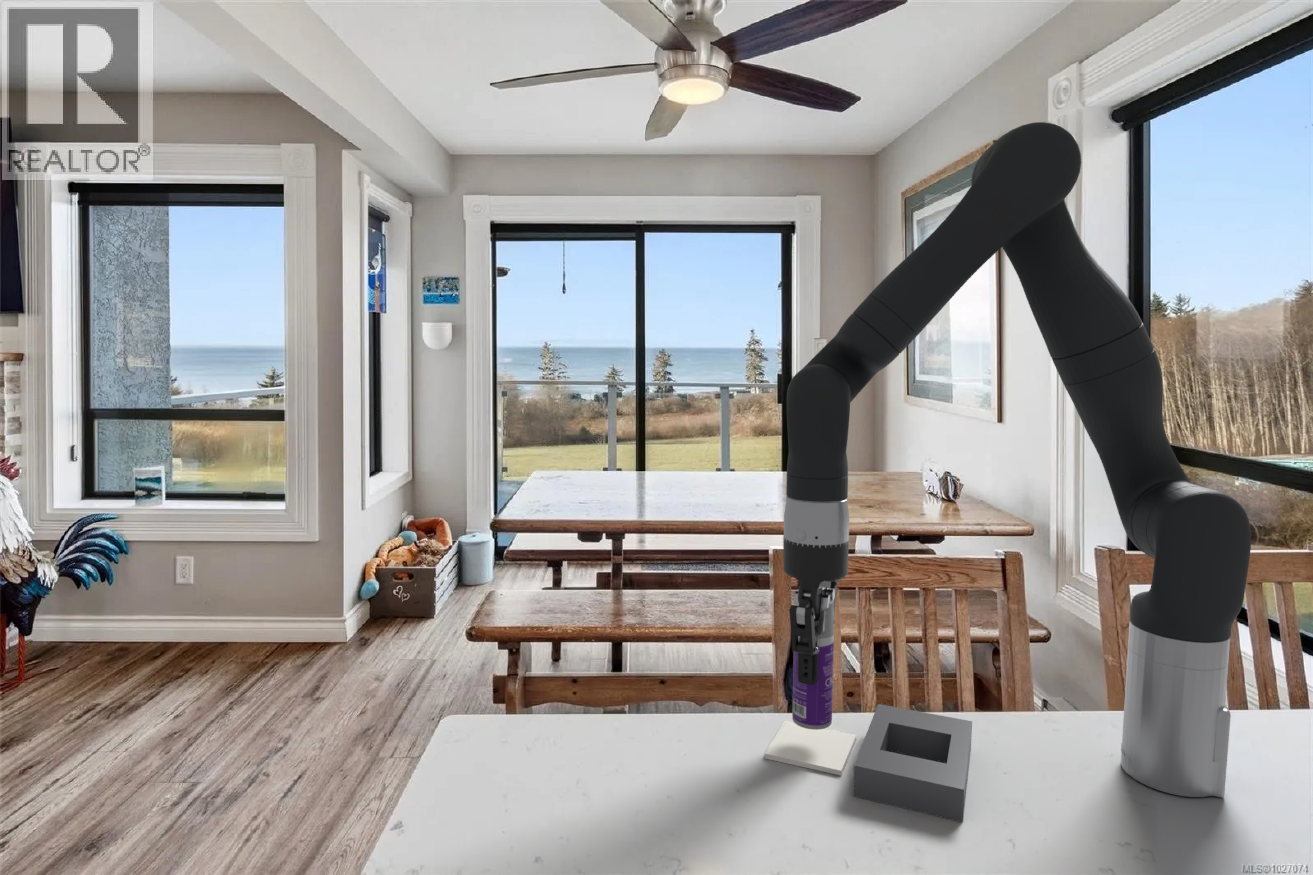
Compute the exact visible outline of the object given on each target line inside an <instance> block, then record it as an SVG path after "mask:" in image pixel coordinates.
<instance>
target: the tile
mask: <svg viewBox="0 0 1313 875" xmlns="http://www.w3.org/2000/svg"><path fill="white" fill-rule="evenodd" d="M856 741H857V734H853V733H849V732H845V731H839V730H833V729H829V728H825V729H819V730H813V729H806V728H803V727H800V726H798V725H797V724H795V723H794V722H793V721H790V720H784V722H783V724H782V725H781V727H780V728H779V730H778V732H777V733H776V735H775V737H774V738H773V740H772V741H771V743H770V745H769V746H768V747H767V749H766V750H765V752H764V759H767V760H771V761H776V762H780V763H784V764H788V765H792V766H797V767H801V768H807V769H811V770H814V771H819V772H824V773H828V774H831V775H832V774H833V775H836V776H842V775H843V773H844V771H845V767H846V765H847V763H848V760H849V758H850V756H851V754H852V751H853V748H854V746H855V743H856Z"/></svg>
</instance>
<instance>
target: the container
mask: <svg viewBox="0 0 1313 875" xmlns="http://www.w3.org/2000/svg"><path fill="white" fill-rule="evenodd" d="M820 609H821V605H820ZM819 620H820V619H819ZM819 620H818V621H816V622H814V626H815V627H816V626H818V625H819ZM834 621H835V614H834V601H833V600H831V599H830V604H829V608H828V609H827V610H826V626H825V632H824V633H823V634H821V635H820V644H819V648H820V651H819V653H818V681H817V683H816V684H815V685H809V684H803V683H800V682H799V681H798V652H793V651H792V653H793V656H792V659H793V662H792V714H791V715H792V722H794V723H795V724H797V725H798V726H800V727H803V728H806V729H813V730H819V729H828V728H829V727H831V725H832V724H833V723H832V721H833V686H834V685H833V684H834V682H833V681H834V654H835V653H834V650H835V649H834V646H835V645H834V643H835V639H834V638H835V635H834V634H835V632H834V631H835V630H834V629H835V626H834V625H835V623H834ZM803 642H807V643H809V641H808V638H806V637H803Z"/></svg>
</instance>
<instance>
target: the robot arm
mask: <svg viewBox="0 0 1313 875" xmlns="http://www.w3.org/2000/svg"><path fill="white" fill-rule="evenodd" d="M1081 166H1082V152H1081V149H1080V145H1079V143H1078V141H1077V140H1076V137H1075V136H1074V135H1073V133H1071V132H1070V131H1069V130H1067V129H1066V128H1065V127H1063V126H1062V125H1059V124H1057V123H1055V122H1049V121H1037V122H1036V121H1035V122H1030V123H1026V124H1022V125H1020V126H1018V127H1015V128H1013V129H1011V130H1008V131H1007V132H1005V134H1003V135H1001V136H1000V137H999V138H998V139H996V141H995V142H993V143H992V144H991V145H990V146H989V147H988V148H987V149H986V150H985V151H984V152H983V153H982V154H981V156H980V157H979V158H978V160H977V161H976V163H975V166H974V167H973V171H972V174H971V183H970V184H971V186H970V187H969V189H968V190H967V191H966V192H965V195H964V196H963V197H962V198H961V200H960V201H959V202H958V203H957V205H955V207H954V208H953V210H952V211H951V212H950V213H949V214H948V216H947V217H946V218H945V219H944V220H943V221H942V222H941V223H940V225H938V226H937V228H935V230H934V231H933V232H932V233H931V234H929V236H928V237H927V238H926V239H925V240H924V241H923V242H922V243H921V244H919V245H918V246H917V247H916V248H915V249H914V250H913V251H912V252H911V253H910V254H909V255H908V256H907V257H905V258H904V259H903V260H902V261H901V262H900V263H899V264H898V265H897V266H896V267H894V269H893V270H892V271H891V272H889V273H888V275H887V276H885V278H884V279H882V281H880V283H879V284H878V285H876V287H874V289H873V290H871V292H870V293H869V294H868V295H867V296H866V298H865V299H864V300H863V301H862V302H861V303H860V304H859V305H858V306H857V307H856V308H855V310H854V311H853V312H852V313H851V314H850V315H849V316H848V317H847V319H846V320H845V321H844V323H843V324H842V325H841V326H840V328H839V330H838V331H837V333H836V334H835V335H834V336H833V337H832V339H831V340H829V341H828V343H827V344H825V346H823V347H822V348H821V349H820V351H819V352H817V353H816V354H815V355H814V356H813V357H812V358H811V359H810V360H809V361H808V362H807V364H806V365H805V366H803V367H802V368H801V369H800V370H799V371H798V372H797V373H796V374H795V375H794V376H793V377H792V378H791V380H790V382H789V384H788V386H787V390H786V426H787V441H788V454H787V455H788V456H787V464H786V490H785V491H786V494H785V495H786V496H785V497H786V498H785V505H784V512H783V513H784V514H783V542H782V543H783V545H782V546H783V550H782V551H783V552H782V553H783V554H782V555H783V556H782V557H783V558H782V567H783V568H782V569H783V572H784V574H786V576H788V577H790V578H794V579H796V580H797V581H798V582H799V585H798V590H795V592H794V599H793V604H794V605H793V604H790V607H789V610H788V613H789V620H790V621H789V622H790V638H791V651H792V653H793V652H798V681H799V682H800V683H803V684H809V685H815V684H816V683H817V681H818V653H819V651H820V648H819V644H820V635H821V634H823V633H824V632H825V626H826V610H827V609H828V608H829V604H830V599H831V600H833V601H834V615H835V611H836V600H837V599H836V598H837V586H838V581H840V580H842V579H844V578H845V577H846V576H847V575H848V574H849V548H850V545H849V544H850V512H849V511H850V510H849V504H848V502H849V501H848V495H849V494H848V492H849V463H848V455H847V450H848V449H847V448H848V437H849V427H850V426H849V425H850V424H849V423H850V413H851V403H852V402H853V400H854V399H855V398H856V397H857V396H858V395H859V394H860V392H861V391H863V389H864V388H865V387H866V386H867V385H868V383H869V382H870V381H872V379H873V378H874V376H876V375H877V374H878V373H879V372H880V371H882V370H884V369H885V368H886V367H887V366H889V365H890V364H891V363H893V361H895V359H897V357H898V356H899V355H900V354H901V353H903V351H905V349H906V348H907V347H908V346H909V345H910V344H911V343H912V342H913V341H914V340H915V339H916V338H917V336H919V334H920V333H921V332H922V331H923V330H924V329H925V328H926V327H927V325H929V324H930V322H932V320H933V319H934V318H936V316H937V315H938V313H939V312H940V311H941V310H942V309H943V308H944V307H945V306H946V305H947V303H949V301H950V300H952V298H953V297H954V296H955V295H956V293H957V292H958V291H959V290H960V289H962V288H963V286H964V285H965V284H966V282H968V281H969V280H970V279H971V278H972V277H973V275H975V273H976V272H978V270H979V269H980V268H981V267H983V265H985V263H987V262H988V261H989V260H990V259H991V258H992V257H993V255H996V253H998V251H1000V249H1003V252H1004V253H1005V254H1006V256H1007V258H1008V260H1009V261H1010V264H1011V265H1012V267H1013V268H1014V270H1015V272H1016V275H1017V278H1018V279H1019V282H1020V284H1021V286H1022V290H1023V293H1024V294H1025V297H1026V300H1027V302H1028V305H1029V308H1030V310H1031V313H1032V315H1033V317H1034V320H1035V322H1036V325H1037V327H1038V329H1039V332H1040V335H1042V338H1043V340H1044V343H1045V345H1046V348H1047V350H1048V351H1047V352H1048V353H1049V356H1050V357H1051V360H1052V363H1053V364H1054V367H1055V369H1056V371H1057V373H1058V375H1059V377H1060V380H1061V381H1062V383H1063V386H1064V388H1065V390H1066V391H1067V394H1068V395H1069V397H1070V399H1071V401H1072V403H1073V406H1074V407H1075V410H1076V412H1077V415H1078V416H1079V418H1080V420H1081V423H1082V424H1083V427H1084V429H1085V431H1086V433H1087V435H1088V437H1089V439H1090V441H1091V442H1092V444H1093V446H1094V449H1095V450H1096V452H1097V454H1098V457H1099V459H1100V461H1101V464H1102V466H1103V469H1104V472H1105V476H1106V478H1107V481H1108V483H1109V484H1108V485H1109V488H1110V491H1111V493H1112V496H1113V499H1114V500H1113V501H1114V503H1115V506H1116V509H1117V510H1116V511H1117V513H1118V515H1119V519H1120V522H1121V524H1122V527H1123V528H1124V531H1125V533H1126V535H1127V538H1129V540H1130V541H1131V543H1132V544H1133V546H1135V547H1136V548H1137V549H1138V550H1139V551H1141V552H1142V553H1143V554H1145V555H1146V556H1148V557H1151V558H1153V559H1154V562H1153V570H1152V571H1153V572H1152V578H1151V583H1150V584H1151V585H1150V588H1149V590H1148V591H1141V592H1139V593H1137V594H1136V595H1134V596H1133V597H1132V600H1131V602H1130V612H1129V614H1130V615H1129V625H1128V626H1129V627H1128V638H1127V639H1128V643H1127V645H1128V646H1127V658H1126V659H1127V660H1126V671H1125V672H1126V673H1125V675H1126V676H1125V690H1124V702H1123V705H1124V707H1123V718H1122V720H1123V721H1122V723H1123V724H1122V736H1121V737H1122V738H1121V739H1122V740H1121V743H1120V744H1121V745H1120V746H1121V748H1120V753H1121V756H1120V765H1121V768H1122V770H1123V771H1124V772H1125V774H1127V775H1128V776H1130V777H1131V778H1133V779H1134V780H1135V781H1137V782H1139V783H1141V784H1142V785H1145V786H1147V787H1149V788H1152V789H1155V790H1157V791H1161V792H1164V793H1167V794H1171V795H1175V796H1180V797H1187V798H1188V797H1189V798H1204V797H1217V798H1225V792H1226V782H1227V780H1226V779H1227V766H1228V754H1229V744H1230V743H1229V741H1230V728H1231V717H1232V716H1231V712H1230V709H1229V708H1228V706H1227V704H1226V701H1227V700H1226V699H1227V687H1228V674H1229V673H1228V672H1229V661H1230V649H1231V648H1230V646H1231V636H1232V629H1233V628H1232V627H1233V623H1234V622H1235V620H1236V619H1237V617H1238V615H1239V614H1240V612H1241V609H1242V607H1243V604H1244V600H1245V592H1246V587H1247V586H1246V584H1247V578H1248V571H1249V566H1250V558H1251V557H1250V556H1251V549H1252V548H1251V547H1252V545H1251V544H1252V529H1251V525H1250V524H1251V523H1250V520H1249V517H1248V514H1247V512H1246V510H1245V509H1244V507H1243V506H1242V505H1241V504H1240V502H1238V500H1236V499H1235V498H1233V497H1232V496H1230V495H1229V494H1227V493H1223V492H1221V491H1219V490H1216V489H1211V488H1208V487H1205V486H1201V485H1198V484H1194V483H1193V482H1192V481H1191V480H1190V479H1189V477H1188V475H1187V474H1186V472H1185V471H1184V469H1183V467H1182V466H1181V464H1180V462H1179V461H1178V458H1177V457H1176V453H1175V452H1174V449H1173V448H1172V447H1171V446H1172V445H1171V444H1170V442H1169V439H1168V437H1167V434H1166V430H1165V425H1164V419H1163V418H1164V417H1163V404H1164V402H1163V401H1164V400H1163V399H1164V397H1163V396H1164V395H1163V394H1164V393H1163V391H1164V388H1163V386H1164V385H1163V373H1162V366H1161V363H1160V359H1159V358H1158V355H1157V351H1156V349H1155V347H1154V345H1153V343H1152V340H1151V338H1150V336H1149V333H1148V332H1147V330H1146V329H1147V328H1146V327H1145V324H1144V323H1143V321H1142V319H1141V317H1140V315H1139V312H1138V311H1137V309H1136V307H1135V305H1133V303H1132V301H1131V300H1130V299H1129V297H1128V296H1127V295H1126V293H1125V292H1124V291H1123V289H1122V288H1121V287H1120V286H1119V285H1118V283H1117V282H1116V281H1115V280H1114V279H1113V277H1112V276H1111V275H1110V274H1109V273H1108V272H1107V271H1106V270H1105V269H1104V267H1103V266H1102V265H1100V264H1099V262H1098V261H1097V260H1096V259H1095V257H1094V256H1093V255H1092V254H1091V253H1090V251H1089V250H1088V248H1087V246H1085V244H1084V242H1083V241H1082V239H1081V237H1080V235H1079V232H1078V231H1077V229H1076V226H1075V224H1074V220H1073V219H1072V216H1071V214H1070V211H1069V208H1068V206H1067V203H1066V200H1065V199H1066V198H1067V197H1068V196H1069V194H1070V193H1071V192H1072V190H1073V188H1074V187H1075V185H1076V183H1077V181H1078V179H1079V175H1080V173H1081V169H1082V168H1081ZM820 605H821V609H820ZM819 619H820V620H819ZM818 620H819V625H818V626H816V627H815V626H814V622H816V621H818ZM835 623H836V622H835V620H834V624H835ZM803 637H806V638H808V641H809V643H807V642H803Z"/></svg>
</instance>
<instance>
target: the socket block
mask: <svg viewBox="0 0 1313 875" xmlns="http://www.w3.org/2000/svg"><path fill="white" fill-rule="evenodd" d="M972 731H973V720H967V719H963V718H956V717H951V716H946V715H940V714H934V713H928V712H923V711H918V710H913V709H908V708H907V709H906V708H902V707H896V706H892V705H885V704H881V703H878V704H877V706H876V709H875V711H874V713H873V716H872V719H871V721H870V724H869V726H868V729H867V732H866V734H865V736H864V739H863V742H862V744H861V747H860V749H859V752H858V753H857V754H858V755H857V757H856V760H855V762H854V764H853V789H852V790H853V793H852V794H853V795H852V796H853V797H856V798H860V799H862V800H863V799H864V800H868V801H871V802H875V803H880V804H884V805H890V806H894V807H897V808H901V809H904V810H905V809H906V810H911V811H915V812H919V813H923V814H927V815H932V816H934V817H935V816H936V817H939V818H943V819H949V820H951V821H952V820H953V821H957V822H960V823H963V822H964V814H965V806H966V798H967V787H968V781H969V780H968V778H969V770H970V769H969V768H970V761H971V752H972Z"/></svg>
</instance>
